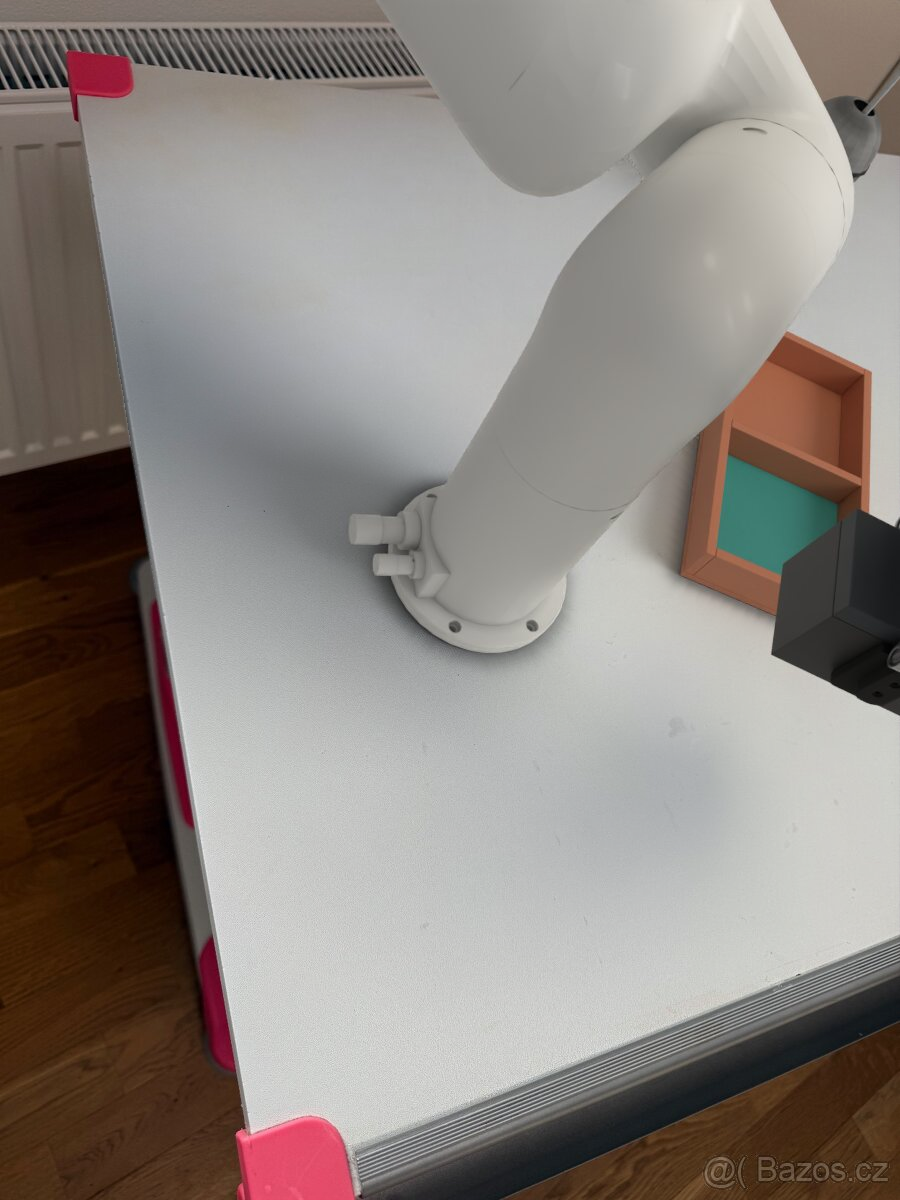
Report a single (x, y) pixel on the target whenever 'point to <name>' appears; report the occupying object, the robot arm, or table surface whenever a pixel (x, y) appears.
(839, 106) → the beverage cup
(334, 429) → the table surface
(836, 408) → the divided orange tray
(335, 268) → the table surface
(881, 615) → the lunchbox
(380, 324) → the table surface
